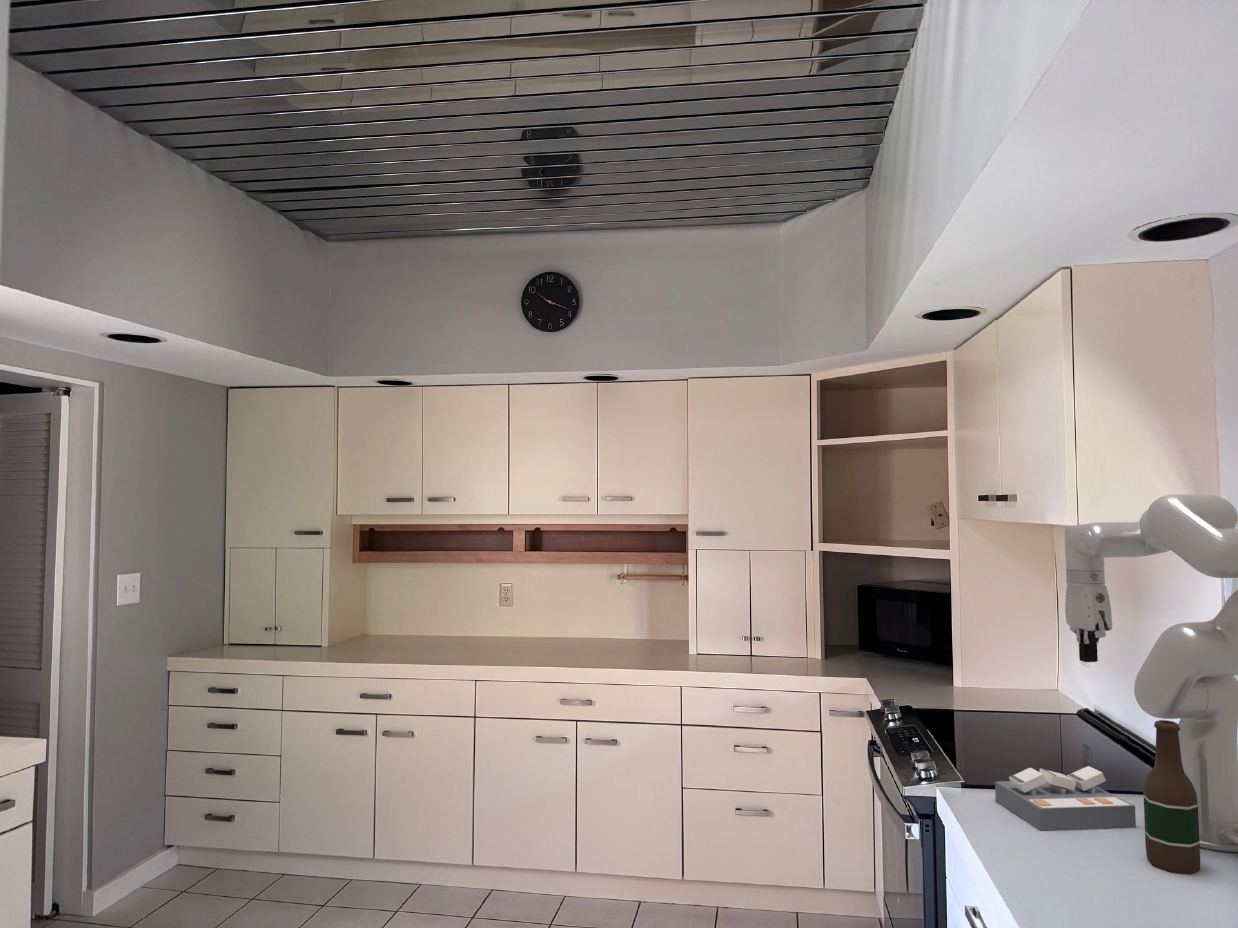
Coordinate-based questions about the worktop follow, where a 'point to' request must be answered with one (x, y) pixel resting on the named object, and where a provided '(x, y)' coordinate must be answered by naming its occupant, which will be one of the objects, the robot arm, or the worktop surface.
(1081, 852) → the worktop surface
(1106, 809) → the switch unit
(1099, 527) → the robot arm
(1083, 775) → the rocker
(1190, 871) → the beer bottle
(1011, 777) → the rocker
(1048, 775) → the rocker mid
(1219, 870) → the worktop surface
